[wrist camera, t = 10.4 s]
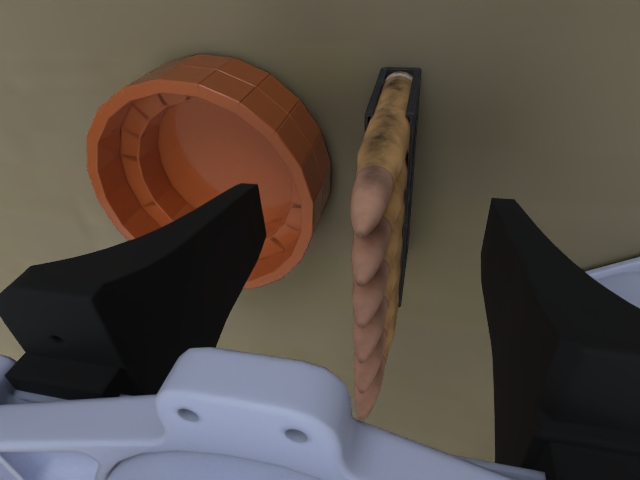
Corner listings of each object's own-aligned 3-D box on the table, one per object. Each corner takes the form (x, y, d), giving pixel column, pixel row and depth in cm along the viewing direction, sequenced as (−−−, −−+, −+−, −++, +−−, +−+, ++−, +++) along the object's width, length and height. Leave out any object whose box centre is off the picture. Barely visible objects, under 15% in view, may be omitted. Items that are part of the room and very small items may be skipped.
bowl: (372, 201, 25) (359, 249, 22) (225, 265, 31) (197, 310, 28) (241, 1, 20) (198, 21, 17) (97, 122, 26) (43, 156, 23)
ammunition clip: (408, 250, 27) (385, 437, 17) (377, 247, 27) (338, 428, 18) (421, 67, 20) (396, 208, 11) (380, 67, 21) (323, 202, 11)
